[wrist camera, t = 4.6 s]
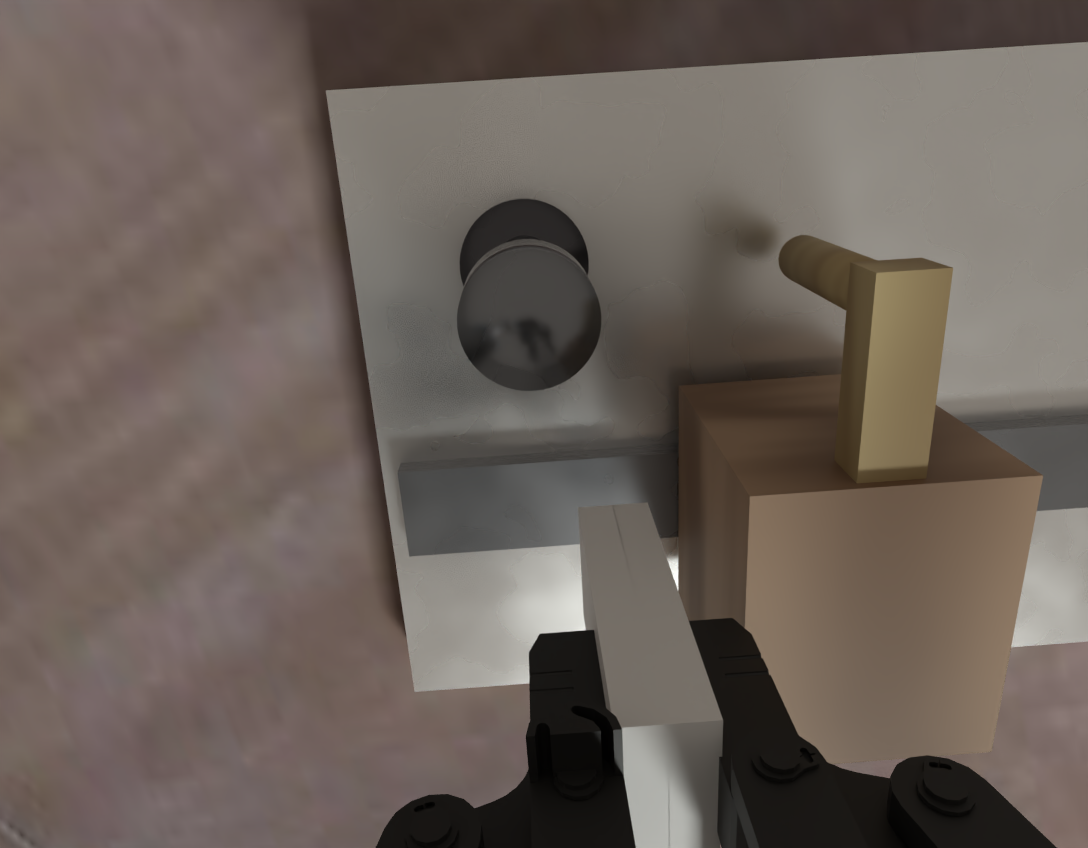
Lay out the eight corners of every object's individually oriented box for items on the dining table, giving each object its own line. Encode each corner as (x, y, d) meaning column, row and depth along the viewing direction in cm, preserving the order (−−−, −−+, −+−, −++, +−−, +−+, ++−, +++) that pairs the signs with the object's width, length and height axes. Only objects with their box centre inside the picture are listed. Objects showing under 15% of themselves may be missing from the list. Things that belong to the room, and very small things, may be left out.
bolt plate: (420, 658, 24) (384, 866, 17) (340, 92, 18) (239, 75, 11) (1255, 596, 24) (1539, 776, 18) (1435, 23, 19) (1959, -35, 12)
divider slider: (678, 598, 21) (739, 771, 15) (679, 232, 17) (757, 283, 12) (863, 584, 21) (991, 751, 15) (900, 217, 18) (1083, 261, 12)
